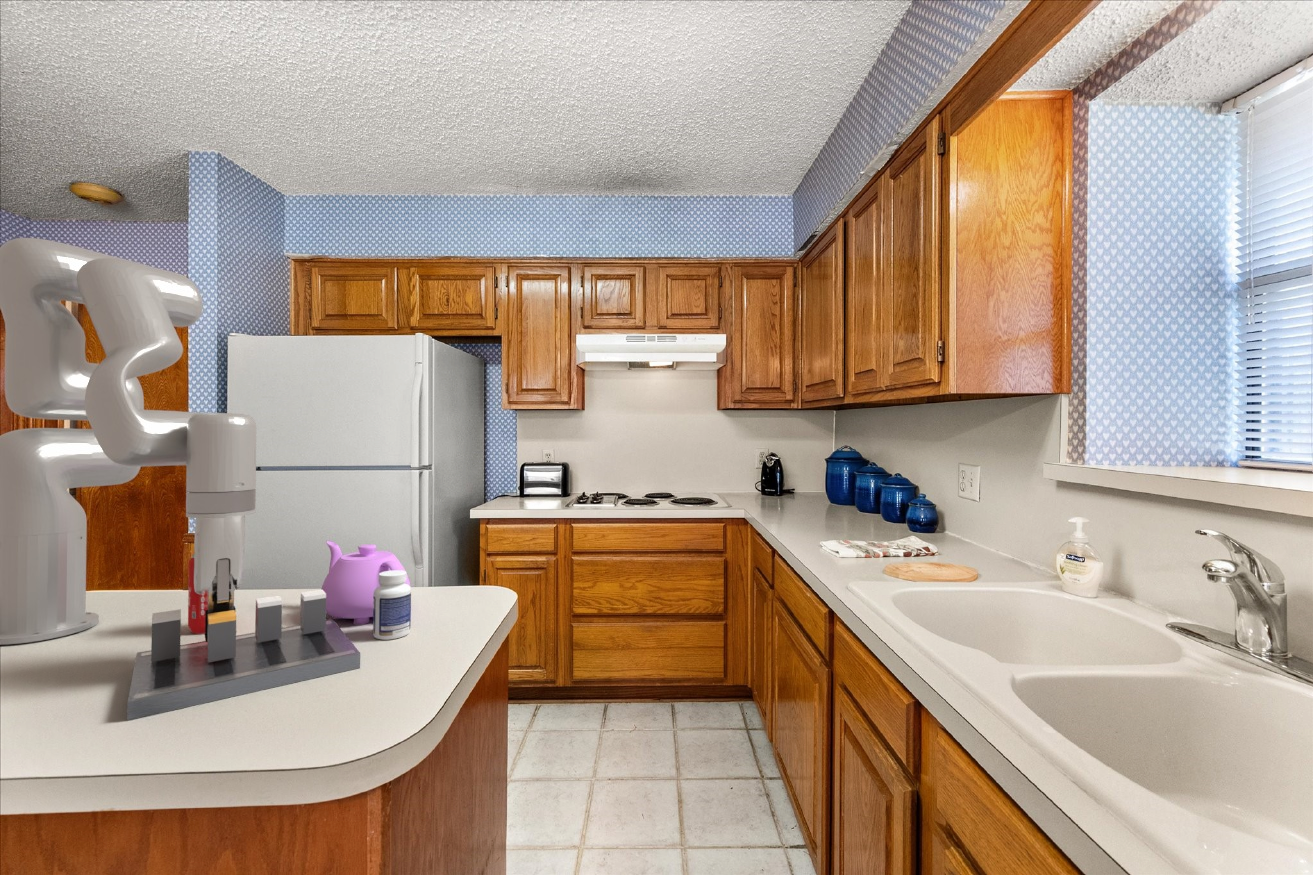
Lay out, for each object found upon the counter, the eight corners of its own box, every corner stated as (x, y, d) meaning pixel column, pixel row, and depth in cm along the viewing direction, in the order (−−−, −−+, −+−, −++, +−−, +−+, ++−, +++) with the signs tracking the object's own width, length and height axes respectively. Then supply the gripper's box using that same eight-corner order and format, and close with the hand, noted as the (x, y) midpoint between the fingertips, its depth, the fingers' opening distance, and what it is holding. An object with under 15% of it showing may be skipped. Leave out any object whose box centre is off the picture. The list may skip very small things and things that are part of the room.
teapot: (287, 615, 98) (288, 545, 98) (363, 596, 111) (364, 533, 111) (361, 636, 89) (362, 558, 89) (435, 612, 101) (436, 543, 101)
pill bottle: (418, 632, 91) (419, 571, 91) (389, 642, 86) (390, 578, 86) (394, 626, 93) (394, 567, 93) (365, 637, 88) (365, 574, 88)
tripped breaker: (207, 655, 74) (207, 613, 74) (234, 650, 76) (234, 609, 76) (208, 662, 72) (208, 619, 72) (235, 657, 74) (236, 615, 74)
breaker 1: (152, 654, 74) (152, 613, 74) (180, 649, 76) (180, 609, 76) (151, 661, 72) (151, 619, 72) (180, 656, 74) (180, 614, 74)
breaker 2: (255, 636, 81) (255, 598, 81) (278, 632, 83) (279, 595, 83) (257, 642, 79) (257, 603, 79) (281, 638, 81) (282, 600, 81)
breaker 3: (300, 628, 85) (300, 592, 85) (321, 624, 86) (322, 589, 86) (303, 634, 82) (304, 596, 82) (325, 630, 84) (326, 593, 84)
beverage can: (206, 636, 88) (207, 558, 88) (179, 633, 89) (180, 556, 89) (237, 625, 93) (238, 551, 93) (211, 622, 94) (212, 550, 94)
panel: (136, 667, 76) (136, 652, 76) (332, 631, 90) (332, 618, 90) (127, 720, 62) (127, 701, 62) (360, 667, 77) (360, 652, 77)
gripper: (185, 500, 81) (183, 629, 81) (187, 511, 69) (185, 662, 69) (249, 497, 86) (248, 619, 86) (261, 507, 74) (259, 648, 74)
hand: (220, 638), depth 78 cm, fingers closed
